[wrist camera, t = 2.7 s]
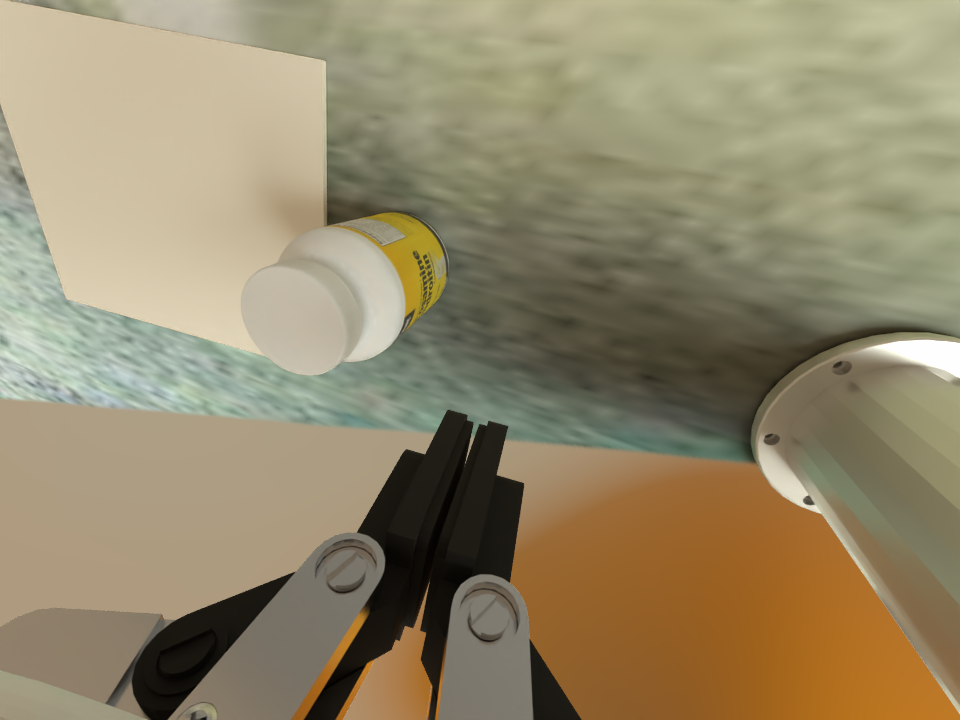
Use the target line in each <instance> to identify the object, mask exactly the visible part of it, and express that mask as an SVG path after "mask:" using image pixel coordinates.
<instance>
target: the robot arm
mask: <svg viewBox="0 0 960 720" xmlns="http://www.w3.org/2000/svg"><path fill="white" fill-rule="evenodd" d="M472 429H473V422H471V421H467V415H466V414H462V413H458V412H455V411H451V410H447V412H446V414H445V416H444V418H443V420H442V422H441V424H440V426H439V428H438V430H437V432H436V434H435V436H434V438H433V440H432V442H431V444H430V446H429V448H428V450H427V452H426V454H421V453H417V452H414V451H411V450H405V451H404V452H403V454H402V455H401V457H400V459H399V461H398V462H397V464H396V466H395V467H394V469H393V471H392V473H391V474H390V476H389V478H388V480H387V481H386V483H385V485H384V487H383V488H382V490H381V492H380V493H379V495H378V497H377V499H376V500H375V502H374V504H373V506H372V507H371V509H370V511H369V513H368V514H367V516H366V518H365V519H364V521H363V523H362V525H361V526H360V528H359V530H358V532H357V533H344V534H340V535H335V536H334V537H332V538H330V539H328V540H326V541H324V542H323V543H322V544H321V545H320V546H319V547H317V548H316V549H315V550H314V552H313V553H312V554H311V555H310V556H309V557H308V558H307V560H306V561H305V562H304V563H303V564H302V565H301V567H300V568H299V569H298V570H297V571H296V572H293V573H291V574H288V575H286V576H283V577H281V578H278V579H276V580H273V581H270V582H268V583H265V584H263V585H260V586H258V587H255V588H253V589H251V590H248V591H245V592H243V593H240V594H238V595H235V596H233V597H230V598H228V599H225V600H222V601H220V602H217V603H215V604H212V605H210V606H207V607H205V608H202V609H200V610H197V611H195V612H192V613H190V614H187V615H185V616H183V617H181V618H179V619H177V620H165V619H164V618H163V615H162V614H149V613H132V612H131V613H130V612H115V611H98V610H81V609H62V608H50V609H41V610H36V611H33V612H30V613H27V614H25V615H22V616H19V617H17V618H15V619H14V620H12V621H10V622H9V623H7V624H5V625H3V626H2V627H0V720H343V718H344V716H345V714H346V713H347V711H348V709H349V707H350V705H351V703H352V702H353V700H354V698H355V696H356V694H357V693H358V691H359V689H360V687H361V685H362V683H363V682H364V680H365V678H366V676H367V674H368V672H369V671H370V669H371V667H372V664H373V662H374V659H376V658H378V657H379V656H381V655H383V654H385V653H386V652H388V651H390V650H392V647H393V645H394V642H395V639H396V640H399V641H400V638H401V635H402V632H403V630H404V627H405V626H408V627H411V628H413V627H414V625H415V622H416V620H417V616H418V613H419V611H420V608H421V605H422V601H423V599H424V596H425V593H426V590H427V587H428V584H429V581H430V584H429V588H428V593H427V598H426V604H425V609H424V614H423V619H422V624H421V629H420V630H421V631H423V632H426V637H425V642H424V647H423V651H422V656H421V661H422V664H423V666H424V668H425V670H426V673H427V675H428V677H429V680H430V682H431V684H432V686H431V691H430V698H429V705H428V712H427V719H426V720H581V718H580V717H579V716H578V714H577V712H576V711H575V709H574V708H573V706H572V704H571V703H570V701H569V700H568V698H567V697H566V695H565V693H564V692H563V690H562V689H561V687H560V686H559V684H558V682H557V681H556V680H555V678H554V676H553V675H552V673H551V672H550V670H549V669H548V667H547V665H546V664H545V662H544V661H543V659H542V658H541V656H540V654H539V653H538V652H537V650H536V648H535V647H534V645H533V643H532V642H531V640H530V639H529V621H528V614H527V608H526V604H525V602H524V600H523V599H522V596H521V594H520V593H519V592H518V591H517V590H516V589H515V588H514V586H513V585H512V584H510V577H511V571H512V563H513V558H514V550H515V544H516V537H517V531H518V523H519V517H520V510H521V504H522V497H523V490H524V483H522V482H518V481H515V480H511V479H508V478H504V477H501V476H497V470H498V466H499V462H500V458H501V454H502V449H503V445H504V441H505V437H506V433H507V429H508V426H506V425H502V424H498V423H495V422H491V421H488V424H487V426H485V425H481V424H479V427H478V430H477V432H476V435H475V438H474V441H473V444H472V447H471V450H470V452H469V455H468V458H467V461H466V457H467V452H468V447H469V443H470V438H471V433H472ZM751 447H752V452H753V457H754V459H755V461H756V463H757V465H758V467H759V469H760V471H761V472H762V474H763V475H764V477H765V478H766V479H767V481H768V483H769V484H770V485H771V486H772V487H773V488H774V489H775V490H777V492H778V493H780V494H781V495H782V496H783V497H785V498H787V499H788V500H790V501H791V502H793V503H795V504H796V505H799V506H801V507H804V508H806V509H809V510H811V511H814V512H817V513H821V514H822V515H823V516H824V518H825V519H826V521H827V522H828V523H829V525H830V526H831V528H832V529H833V530H834V532H835V534H836V535H837V537H838V538H839V539H840V541H841V542H842V544H843V545H844V547H845V548H846V549H847V551H848V552H849V554H850V555H851V557H852V558H853V560H854V561H855V563H856V564H857V566H858V567H859V568H860V570H861V571H862V573H863V574H864V576H865V577H866V579H867V580H868V582H869V583H870V584H871V586H872V587H873V589H874V590H875V592H876V593H877V595H878V596H879V598H880V599H881V600H882V602H883V603H884V605H885V606H886V608H887V609H888V611H889V612H890V614H891V615H892V616H893V618H894V619H895V621H896V622H897V624H898V625H899V627H900V628H901V629H902V631H903V632H904V634H905V635H906V637H907V638H908V640H909V641H910V643H911V644H912V645H913V647H914V648H915V650H916V651H917V653H918V654H919V656H920V657H921V658H922V660H923V661H924V663H925V664H926V666H927V667H928V669H929V670H930V671H931V673H932V675H933V676H934V677H935V679H936V680H937V682H938V683H939V685H940V686H941V687H942V689H943V690H944V692H945V693H946V695H947V696H948V698H949V699H950V701H951V702H952V704H953V705H954V706H955V708H956V709H957V711H958V712H959V714H960V339H959V338H956V337H952V336H946V335H940V334H934V333H926V332H898V333H890V334H882V335H874V336H869V337H866V338H862V339H858V340H854V341H850V342H847V343H844V344H841V345H839V346H836V347H834V348H831V349H829V350H827V351H824V352H822V353H820V354H818V355H816V356H814V357H813V358H811V359H809V360H807V361H806V362H804V363H802V364H800V365H799V366H797V367H796V368H795V369H794V370H792V371H791V372H790V373H789V374H787V375H786V376H785V377H784V378H782V379H781V380H780V381H779V382H778V383H777V384H776V386H775V387H774V388H773V389H772V390H771V391H770V392H769V393H768V394H767V396H766V397H765V399H764V401H763V402H762V404H761V405H760V407H759V409H758V410H757V413H756V416H755V419H754V422H753V425H752V430H751ZM465 461H466V464H465ZM464 466H465V467H464Z"/></svg>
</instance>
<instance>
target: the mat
mask: <svg viewBox="0 0 960 720" xmlns="http://www.w3.org/2000/svg"><path fill="white" fill-rule="evenodd" d="M0 105H1V108H2V110H3V113H4V116H5V119H6V122H7V125H8V128H9V131H10V134H11V137H12V140H13V143H14V146H15V149H16V152H17V155H18V158H19V161H20V164H21V167H22V170H23V173H24V176H25V179H26V181H27V184H28V187H29V190H30V193H31V196H32V199H33V202H34V205H35V208H36V211H37V214H38V217H39V220H40V223H41V226H42V229H43V232H44V235H45V238H46V241H47V244H48V247H49V249H50V252H51V255H52V258H53V261H54V264H55V267H56V270H57V273H58V276H59V279H60V282H61V285H62V288H63V291H64V294H65V297H66V299H68V300H71V301H75V302H78V303H82V304H85V305H89V306H92V307H96V308H99V309H103V310H106V311H110V312H113V313H117V314H120V315H124V316H127V317H131V318H134V319H137V320H141V321H144V322H148V323H151V324H155V325H158V326H162V327H165V328H169V329H172V330H176V331H179V332H183V333H186V334H190V335H193V336H197V337H200V338H204V339H207V340H211V341H214V342H217V343H221V344H224V345H228V346H231V347H235V348H238V349H242V350H245V351H249V352H252V353H256V354H259V355H263V356H265V355H264V354H263V353H262V352H261V351H260V349H259V348H258V347H257V346H256V345H255V343H254V342H253V340H252V339H251V337H250V335H249V334H248V331H247V329H246V327H245V324H244V321H243V317H242V313H241V296H242V292H243V289H244V286H245V284H246V282H247V281H248V279H249V278H250V277H251V276H252V275H253V274H254V273H256V272H257V271H258V270H260V269H262V268H264V267H267V266H270V265H272V264H275V263H277V262H278V260H279V258H280V256H281V254H282V252H283V251H284V249H285V248H286V247H287V246H288V245H289V243H290V242H291V241H293V240H294V239H295V238H296V237H298V236H299V235H301V234H303V233H305V232H307V231H310V230H313V229H316V228H320V227H325V226H327V117H326V61H324V60H320V59H315V58H310V57H304V56H299V55H294V54H289V53H283V52H278V51H273V50H267V49H262V48H257V47H251V46H246V45H241V44H236V43H230V42H225V41H220V40H214V39H209V38H204V37H199V36H193V35H188V34H183V33H177V32H172V31H167V30H161V29H156V28H151V27H146V26H140V25H135V24H130V23H124V22H119V21H114V20H108V19H103V18H98V17H93V16H87V15H82V14H77V13H71V12H66V11H61V10H56V9H50V8H45V7H40V6H34V5H29V4H24V3H18V2H13V1H8V0H0ZM325 373H326V372H325Z"/></svg>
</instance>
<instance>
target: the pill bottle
mask: <svg viewBox="0 0 960 720" xmlns="http://www.w3.org/2000/svg"><path fill="white" fill-rule="evenodd" d="M448 277H449V260H448V255H447V252H446V249H445V246H444V244H443V242H442V240H441V238H440V237H439V236H438V234H437V233H436V231H435V230H434V229H433V228H432V227H431V226H430V225H428V224H427V223H426V222H425V221H423V220H422V219H420V218H418V217H416V216H414V215H411V214H408V213H403V212H387V213H381V214H377V215H373V216H369V217H364V218H360V219H355V220H351V221H346V222H342V223H338V224H333V225H329V226H325V227H320V228H316V229H313V230H310V231H307V232H305V233H303V234H301V235H299V236H298V237H296V238H295V239H294V240H293V241H291V242H290V243H289V245H288V246H287V247H286V248H285V249H284V251H283V252H282V254H281V256H280V258H279V260H278V262H277V263H275V264H272V265H270V266H267V267H264V268H262V269H260V270H258V271H257V272H256V273H254V274H253V275H252V276H251V277H250V278H249V279H248V281H247V282H246V284H245V286H244V289H243V292H242V296H241V313H242V317H243V321H244V324H245V327H246V329H247V331H248V334H249V335H250V337H251V339H252V340H253V342H254V343H255V345H256V346H257V347H258V348H259V349H260V351H261V352H262V353H263V354H264V355H265V356H266V357H268V358H269V359H270V360H271V361H272V362H273V363H275V364H276V365H278V366H279V367H281V368H283V369H285V370H287V371H290V372H292V373H296V374H300V375H319V374H323V373H325V372H328V371H330V370H331V369H333V368H334V367H336V366H337V365H338V364H340V363H341V362H342V361H344V362H356V361H363V360H367V359H369V358H372V357H374V356H376V355H378V354H380V353H381V352H383V351H384V350H386V349H387V348H388V347H389V346H390V345H391V344H393V343H394V342H395V341H396V340H397V339H398V338H399V337H400V336H401V335H402V334H403V333H404V332H405V331H406V330H407V329H408V328H409V327H410V326H411V325H412V324H413V323H414V322H416V321H417V320H418V319H419V318H420V317H421V316H422V315H423V314H424V313H425V312H426V311H427V310H428V309H429V308H430V307H431V306H433V305H434V304H435V303H436V302H437V301H438V299H439V298H440V297H441V295H442V294H443V292H444V290H445V288H446V285H447V282H448Z"/></svg>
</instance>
